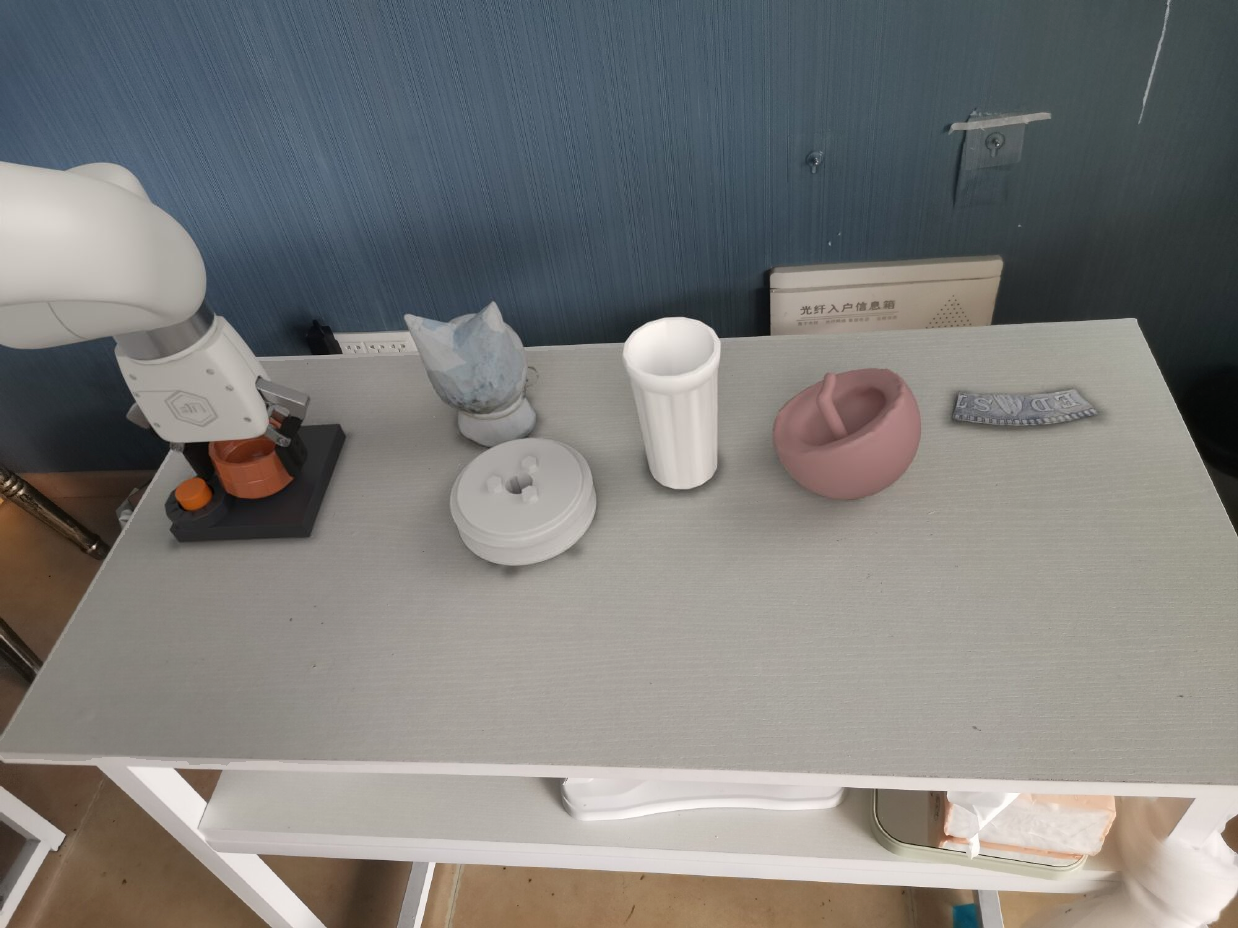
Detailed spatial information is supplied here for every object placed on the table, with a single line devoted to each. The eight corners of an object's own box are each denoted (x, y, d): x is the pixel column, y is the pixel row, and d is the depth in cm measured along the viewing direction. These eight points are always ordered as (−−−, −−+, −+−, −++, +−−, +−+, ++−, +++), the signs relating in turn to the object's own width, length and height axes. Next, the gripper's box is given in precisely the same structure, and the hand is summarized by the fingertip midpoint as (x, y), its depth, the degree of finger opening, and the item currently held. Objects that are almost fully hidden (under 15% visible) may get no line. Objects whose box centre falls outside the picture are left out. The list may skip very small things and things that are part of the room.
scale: (308, 540, 81) (293, 515, 79) (174, 545, 83) (155, 522, 81) (346, 436, 90) (333, 411, 88) (224, 443, 92) (208, 419, 90)
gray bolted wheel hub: (436, 509, 82) (421, 473, 78) (551, 443, 86) (541, 406, 82) (502, 597, 74) (489, 561, 71) (625, 520, 78) (618, 483, 74)
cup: (645, 506, 79) (626, 388, 69) (635, 442, 85) (616, 324, 74) (735, 492, 79) (729, 371, 68) (719, 429, 84) (712, 308, 74)
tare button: (206, 510, 81) (198, 499, 80) (178, 511, 82) (169, 501, 80) (217, 487, 83) (209, 476, 82) (189, 488, 84) (181, 478, 82)
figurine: (557, 394, 91) (527, 273, 80) (520, 458, 85) (483, 336, 74) (473, 381, 94) (433, 262, 83) (432, 441, 88) (384, 322, 77)
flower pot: (284, 503, 82) (272, 468, 79) (211, 500, 82) (196, 464, 79) (308, 454, 87) (297, 418, 84) (238, 451, 87) (225, 415, 84)
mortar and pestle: (805, 413, 84) (809, 317, 76) (931, 451, 79) (949, 352, 71) (750, 500, 78) (748, 406, 70) (883, 547, 73) (898, 452, 64)
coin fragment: (1089, 389, 82) (1090, 385, 81) (1104, 425, 78) (1106, 421, 78) (946, 394, 84) (947, 391, 83) (955, 430, 80) (956, 426, 80)
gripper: (40, 358, 69) (154, 503, 82) (249, 344, 67) (332, 494, 80) (84, 300, 74) (185, 444, 87) (280, 284, 72) (354, 435, 85)
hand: (255, 467), depth 83 cm, fingers open, 8 cm apart
